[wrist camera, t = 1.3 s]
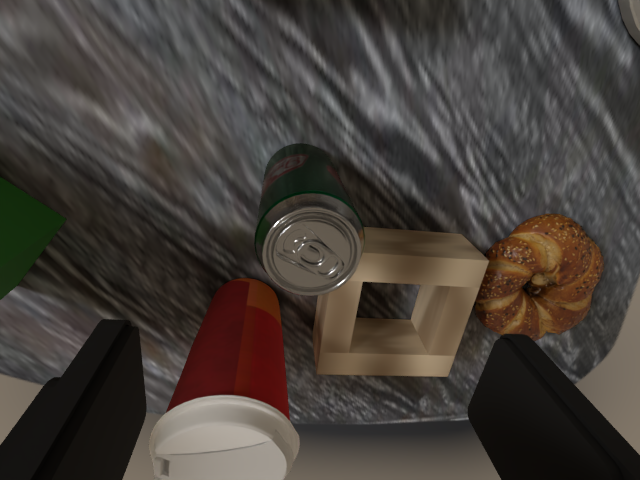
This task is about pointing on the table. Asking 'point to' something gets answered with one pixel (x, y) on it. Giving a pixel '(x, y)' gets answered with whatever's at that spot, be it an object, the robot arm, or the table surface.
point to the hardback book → (22, 233)
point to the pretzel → (539, 278)
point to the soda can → (307, 223)
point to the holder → (400, 334)
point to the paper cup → (230, 395)
